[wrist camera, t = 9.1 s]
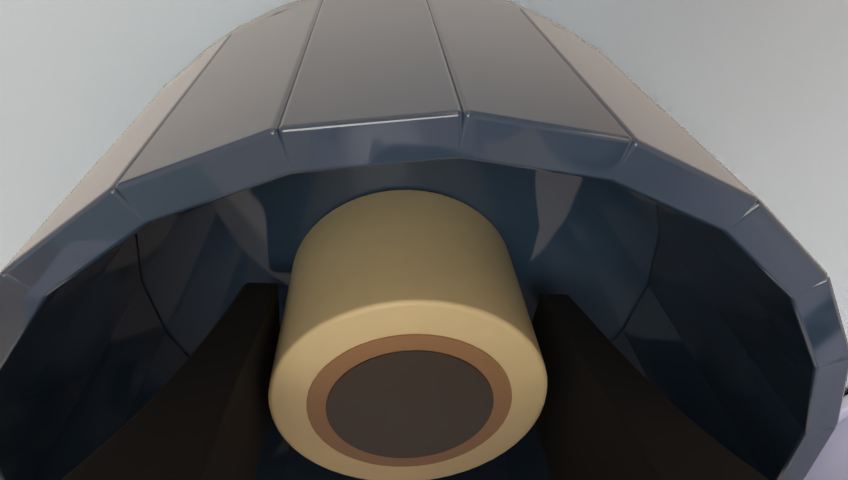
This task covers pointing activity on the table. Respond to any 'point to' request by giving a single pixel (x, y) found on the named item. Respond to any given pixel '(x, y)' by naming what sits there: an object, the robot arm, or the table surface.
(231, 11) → the table surface
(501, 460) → the dark round bowl
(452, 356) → the tape roll
